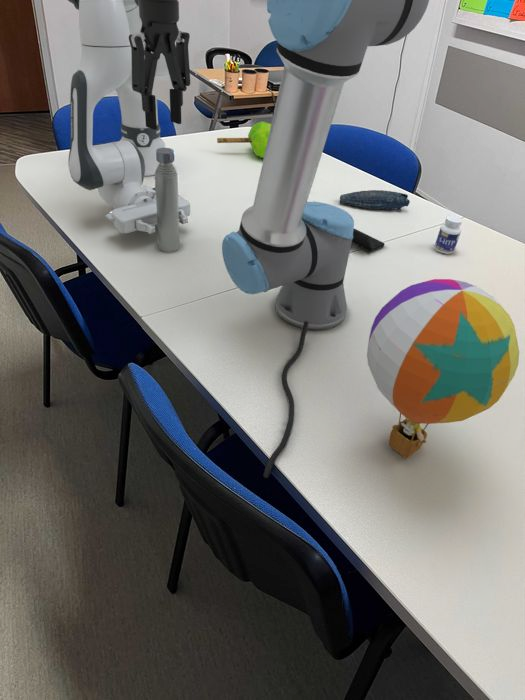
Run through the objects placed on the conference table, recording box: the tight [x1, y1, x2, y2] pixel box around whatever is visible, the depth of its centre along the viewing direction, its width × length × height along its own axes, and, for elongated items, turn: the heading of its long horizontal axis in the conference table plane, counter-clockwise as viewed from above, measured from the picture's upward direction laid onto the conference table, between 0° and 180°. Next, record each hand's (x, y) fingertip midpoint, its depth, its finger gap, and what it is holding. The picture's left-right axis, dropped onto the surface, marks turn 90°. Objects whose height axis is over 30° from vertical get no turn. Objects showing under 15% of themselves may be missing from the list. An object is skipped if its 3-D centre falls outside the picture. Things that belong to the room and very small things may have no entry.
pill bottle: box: [434, 215, 463, 255], centre depth 137 cm, size 5×5×9 cm
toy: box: [366, 278, 520, 459], centre depth 74 cm, size 20×20×30 cm
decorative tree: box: [216, 121, 272, 159], centre depth 186 cm, size 18×10×30 cm
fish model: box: [339, 189, 411, 211], centre depth 158 cm, size 7×21×5 cm, turn 84°
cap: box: [156, 147, 175, 164], centre depth 116 cm, size 4×4×2 cm
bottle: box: [154, 163, 180, 253], centre depth 123 cm, size 5×5×24 cm
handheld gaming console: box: [351, 228, 385, 253], centre depth 138 cm, size 12×7×10 cm
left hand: (169, 225), depth 126 cm, fingers open, 8 cm apart
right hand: (163, 124), depth 112 cm, fingers open, 6 cm apart
